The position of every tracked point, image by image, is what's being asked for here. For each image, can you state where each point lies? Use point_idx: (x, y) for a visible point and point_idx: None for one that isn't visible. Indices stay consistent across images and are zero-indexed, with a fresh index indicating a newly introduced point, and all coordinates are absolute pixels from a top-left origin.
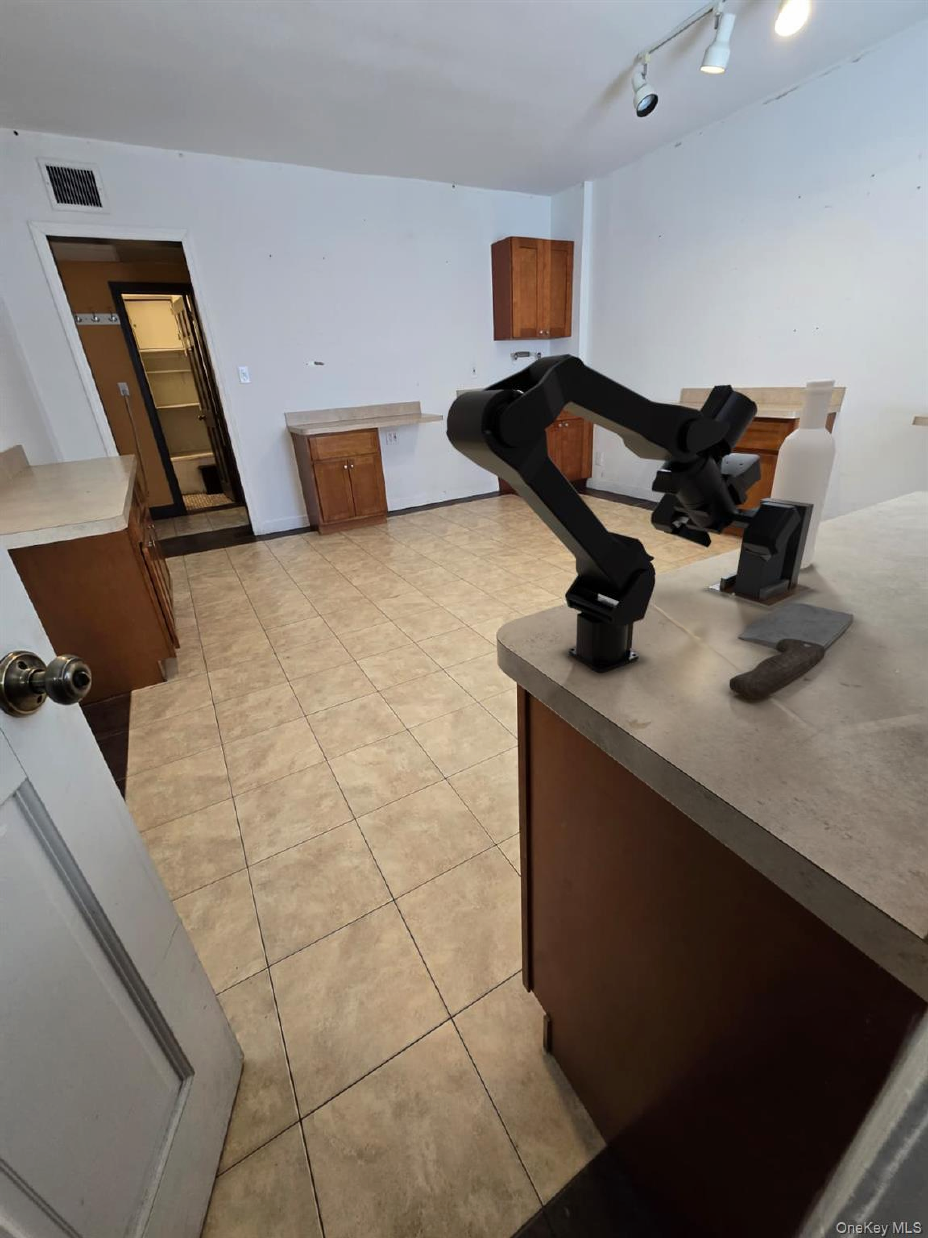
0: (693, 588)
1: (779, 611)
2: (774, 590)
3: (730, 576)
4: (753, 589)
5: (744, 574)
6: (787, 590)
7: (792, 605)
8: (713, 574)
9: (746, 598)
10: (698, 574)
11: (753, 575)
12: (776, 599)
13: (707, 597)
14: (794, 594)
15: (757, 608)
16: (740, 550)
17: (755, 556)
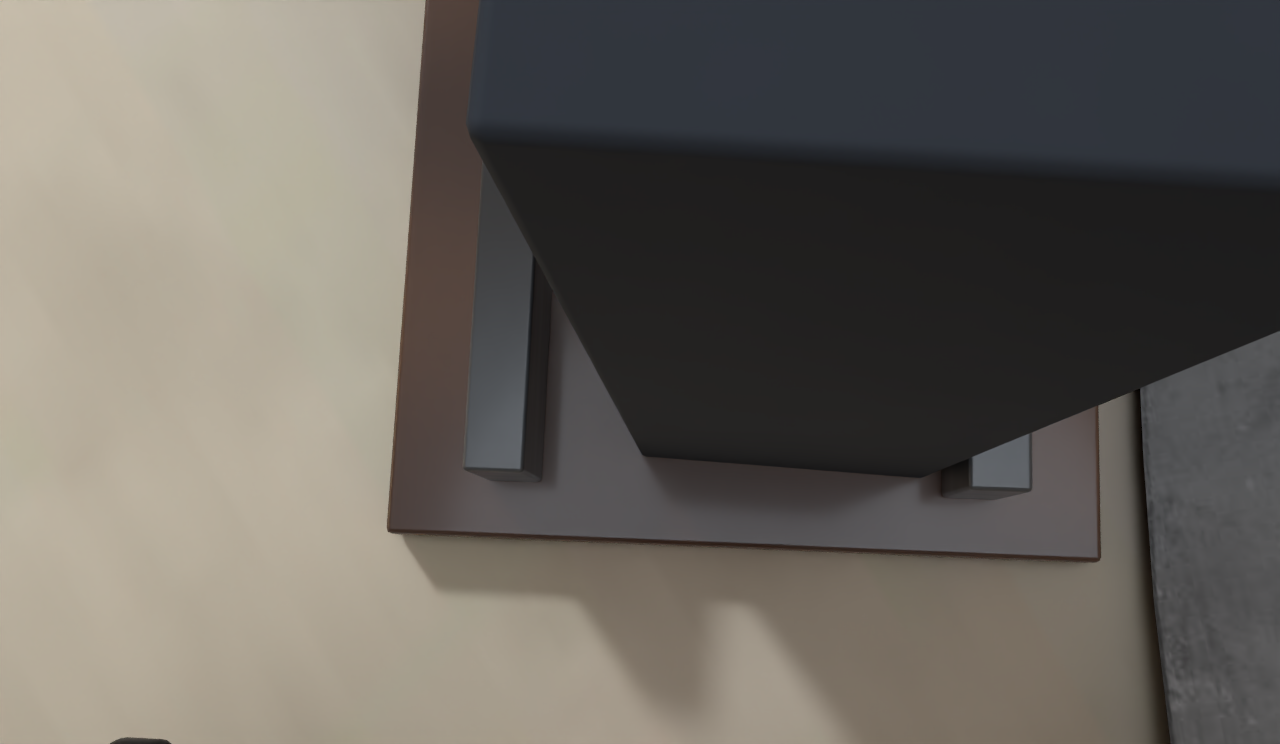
0: (253, 582)
1: (1259, 648)
2: None
3: (517, 352)
4: (871, 465)
5: (739, 442)
6: None
7: (1250, 404)
8: (188, 72)
9: (838, 543)
10: (72, 178)
11: (864, 446)
12: None
13: (496, 708)
14: None
15: (999, 613)
16: (604, 383)
17: (886, 416)
